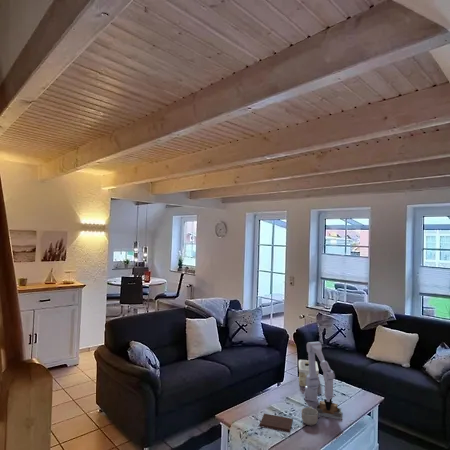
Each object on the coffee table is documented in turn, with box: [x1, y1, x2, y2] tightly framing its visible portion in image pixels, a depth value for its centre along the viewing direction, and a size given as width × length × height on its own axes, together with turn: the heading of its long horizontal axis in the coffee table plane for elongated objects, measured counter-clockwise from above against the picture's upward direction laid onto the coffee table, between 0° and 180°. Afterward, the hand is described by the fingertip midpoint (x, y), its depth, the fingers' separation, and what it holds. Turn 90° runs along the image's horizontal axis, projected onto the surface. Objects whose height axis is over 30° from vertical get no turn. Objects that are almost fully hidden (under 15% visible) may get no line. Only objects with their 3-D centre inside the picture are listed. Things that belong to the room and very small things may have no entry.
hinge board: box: [315, 403, 343, 420], centre depth 246 cm, size 18×10×4 cm, turn 70°
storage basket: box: [298, 359, 320, 388], centre depth 298 cm, size 24×16×15 cm
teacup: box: [300, 406, 319, 426], centre depth 234 cm, size 14×11×8 cm
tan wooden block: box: [319, 400, 339, 415], centre depth 246 cm, size 12×4×6 cm, turn 70°
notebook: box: [259, 413, 294, 433], centre depth 232 cm, size 15×20×2 cm
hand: (328, 407), depth 246 cm, fingers open, 7 cm apart
